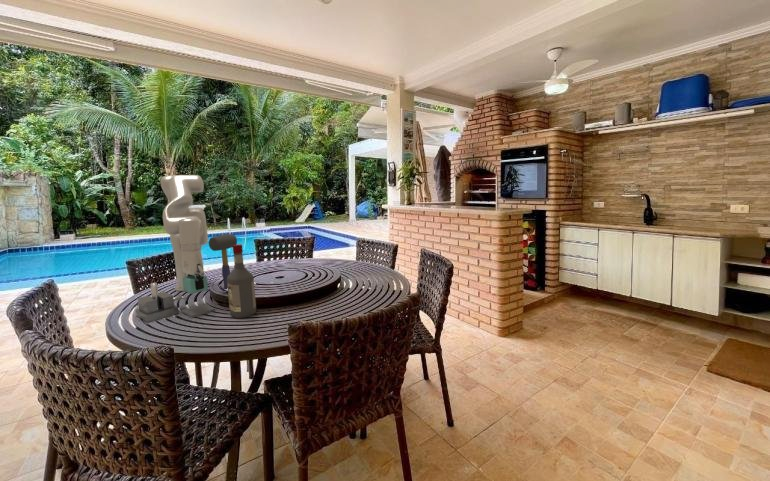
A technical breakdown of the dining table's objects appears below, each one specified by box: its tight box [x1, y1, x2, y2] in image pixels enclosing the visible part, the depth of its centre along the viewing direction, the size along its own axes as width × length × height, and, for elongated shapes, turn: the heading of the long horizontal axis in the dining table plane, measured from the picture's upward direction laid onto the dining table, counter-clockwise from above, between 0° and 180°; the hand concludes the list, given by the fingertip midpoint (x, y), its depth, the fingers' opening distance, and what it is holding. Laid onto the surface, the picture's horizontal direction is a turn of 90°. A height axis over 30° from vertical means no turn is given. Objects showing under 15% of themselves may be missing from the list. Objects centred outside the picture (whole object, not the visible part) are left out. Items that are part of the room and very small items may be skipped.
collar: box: [182, 275, 209, 295], centre depth 153 cm, size 7×7×6 cm
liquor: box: [227, 244, 257, 319], centre depth 149 cm, size 9×9×30 cm
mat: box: [180, 303, 216, 319], centre depth 155 cm, size 10×10×1 cm
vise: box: [135, 282, 187, 323], centre depth 153 cm, size 17×12×14 cm
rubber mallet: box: [208, 233, 238, 290], centre depth 179 cm, size 12×8×30 cm, turn 156°
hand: (195, 287), depth 153 cm, fingers closed on collar, 7 cm apart
